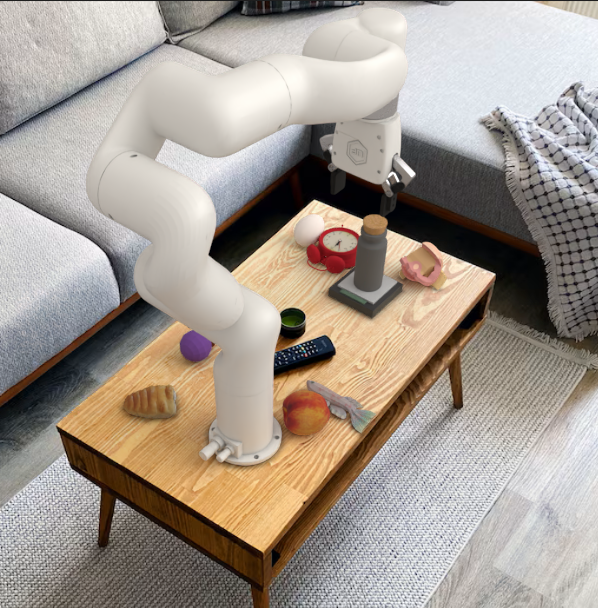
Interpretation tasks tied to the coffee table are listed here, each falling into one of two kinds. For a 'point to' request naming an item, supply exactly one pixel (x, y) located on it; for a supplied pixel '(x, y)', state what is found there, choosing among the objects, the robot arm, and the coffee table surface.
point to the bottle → (371, 254)
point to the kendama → (195, 346)
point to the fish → (342, 405)
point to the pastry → (152, 402)
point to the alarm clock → (334, 250)
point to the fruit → (305, 412)
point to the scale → (364, 294)
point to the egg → (309, 230)
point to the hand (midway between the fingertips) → (361, 201)
